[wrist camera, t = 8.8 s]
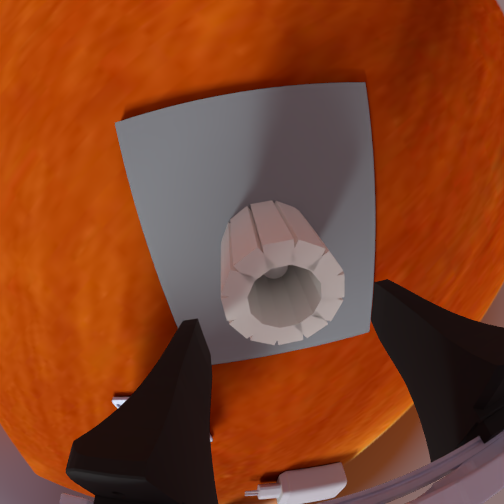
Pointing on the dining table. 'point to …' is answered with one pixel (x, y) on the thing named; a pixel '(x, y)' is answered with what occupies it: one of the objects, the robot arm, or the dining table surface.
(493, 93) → the dining table surface
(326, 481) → the charger
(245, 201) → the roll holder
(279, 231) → the paper roll
